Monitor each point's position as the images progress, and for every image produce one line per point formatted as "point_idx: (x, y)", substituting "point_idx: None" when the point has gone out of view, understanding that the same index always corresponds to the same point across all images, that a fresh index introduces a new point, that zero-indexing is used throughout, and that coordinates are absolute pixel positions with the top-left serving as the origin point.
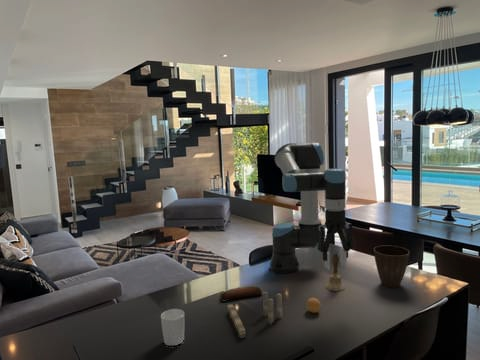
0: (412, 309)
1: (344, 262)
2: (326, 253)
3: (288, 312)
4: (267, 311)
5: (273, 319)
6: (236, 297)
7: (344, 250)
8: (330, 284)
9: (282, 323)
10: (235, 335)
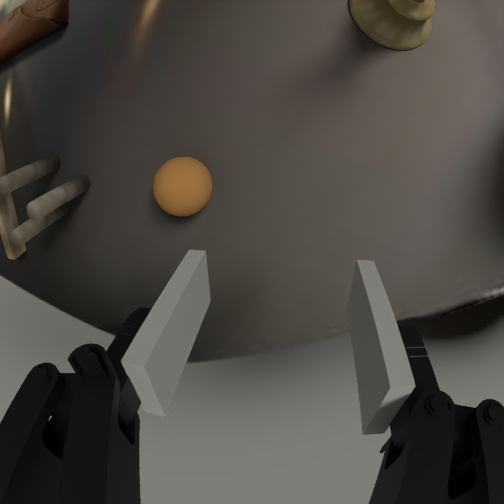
0: (490, 279)
1: (351, 336)
2: (137, 393)
3: (111, 158)
4: (47, 173)
5: (61, 215)
6: (5, 59)
7: (381, 422)
8: (368, 7)
9: (87, 218)
10: None
